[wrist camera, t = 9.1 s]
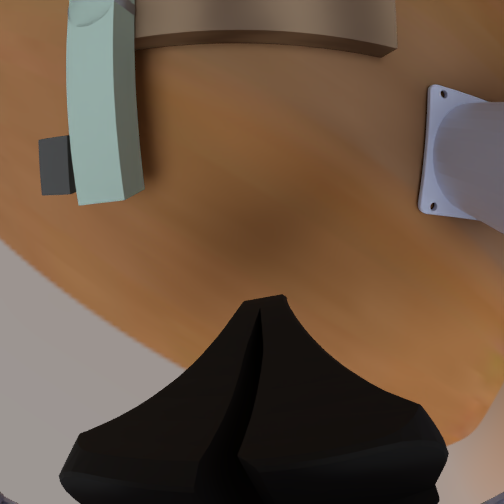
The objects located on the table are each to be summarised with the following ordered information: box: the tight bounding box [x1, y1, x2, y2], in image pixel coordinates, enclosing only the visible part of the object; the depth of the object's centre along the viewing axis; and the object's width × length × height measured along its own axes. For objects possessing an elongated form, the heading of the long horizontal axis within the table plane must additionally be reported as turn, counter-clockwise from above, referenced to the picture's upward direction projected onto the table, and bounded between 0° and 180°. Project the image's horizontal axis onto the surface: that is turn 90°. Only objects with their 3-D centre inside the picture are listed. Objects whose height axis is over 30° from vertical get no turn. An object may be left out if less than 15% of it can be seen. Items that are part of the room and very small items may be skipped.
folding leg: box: [66, 0, 145, 205], centre depth 12 cm, size 11×3×2 cm, turn 3°
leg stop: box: [39, 135, 76, 195], centre depth 15 cm, size 2×3×4 cm, turn 178°
